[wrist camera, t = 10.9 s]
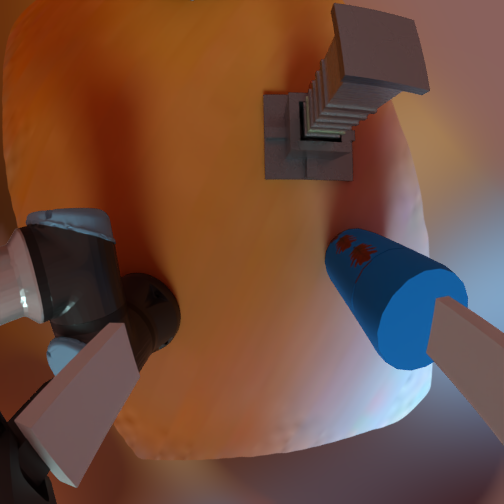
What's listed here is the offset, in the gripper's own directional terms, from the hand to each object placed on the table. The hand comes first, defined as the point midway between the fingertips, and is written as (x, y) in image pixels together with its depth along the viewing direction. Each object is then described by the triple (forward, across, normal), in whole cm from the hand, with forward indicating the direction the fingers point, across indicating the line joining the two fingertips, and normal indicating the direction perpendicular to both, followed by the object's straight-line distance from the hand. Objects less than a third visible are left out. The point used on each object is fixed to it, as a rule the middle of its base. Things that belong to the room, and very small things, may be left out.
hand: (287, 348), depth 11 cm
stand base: (+36, +8, +14) cm, 39 cm away
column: (+27, +8, +14) cm, 31 cm away
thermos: (+36, +15, -6) cm, 39 cm away
